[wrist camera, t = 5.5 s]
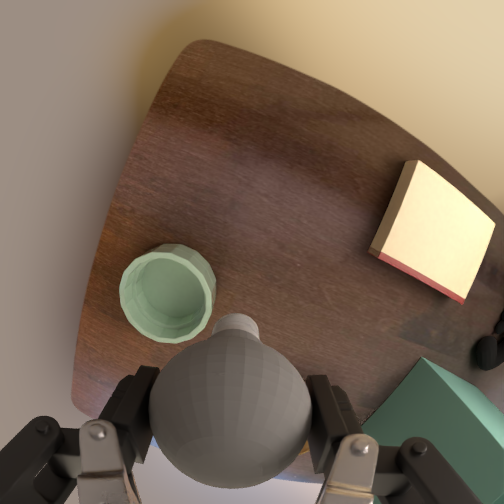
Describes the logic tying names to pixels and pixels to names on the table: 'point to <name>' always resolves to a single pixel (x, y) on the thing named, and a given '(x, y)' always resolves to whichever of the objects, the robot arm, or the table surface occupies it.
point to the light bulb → (230, 408)
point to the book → (433, 232)
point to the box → (446, 426)
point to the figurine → (491, 350)
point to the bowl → (168, 293)
